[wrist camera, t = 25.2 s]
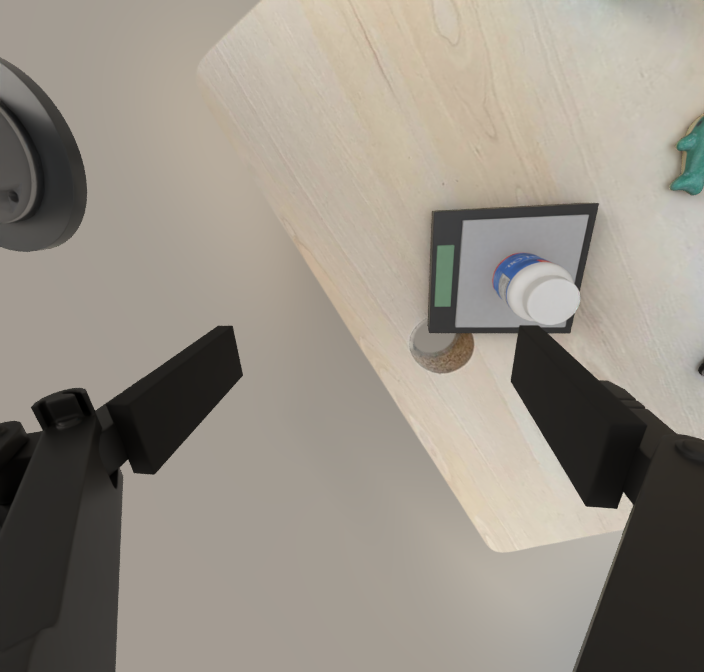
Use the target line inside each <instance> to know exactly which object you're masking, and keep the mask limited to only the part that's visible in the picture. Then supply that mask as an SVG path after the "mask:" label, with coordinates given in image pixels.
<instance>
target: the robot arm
mask: <svg viewBox="0 0 704 672" xmlns="http://www.w3.org/2000/svg"><path fill="white" fill-rule="evenodd" d="M43 195H44V173H43V167H42V164H41V160H40V157H39V154H38V152H37V149H36V147H35V145H34V143H33V141H32V139H31V137H30V135H29V133H28V132H27V130H26V129H25V127H24V126H23V124H22V123H21V122H20V120H19V119H18V118H17V117H16V116H15V114H14V113H13V112H12V111H11V110H10V109H9V108H8V107H7V106H6V105H5V104H3V103H2V102H1V101H0V223H14V222H21V221H24V220H26V219H28V218H30V217H31V216H32V215H34V214H35V212H36V211H37V210H38V208H39V207H40V205H41V202H42V199H43ZM242 376H243V373H242V368H241V364H240V359H239V354H238V349H237V345H236V340H235V335H234V331H233V326H217V327H216V328H214V329H213V330H211V331H210V332H208V333H207V334H206V335H204V336H203V337H201V338H200V339H198V340H197V341H196V342H194V343H193V344H191V345H190V346H188V347H187V348H186V349H184V350H183V351H181V352H180V353H178V354H177V355H176V356H174V357H173V358H171V359H170V360H168V361H167V362H165V363H164V364H163V365H161V366H160V367H158V368H157V369H156V370H154V371H153V372H151V373H150V374H148V375H147V376H145V377H144V378H142V379H140V380H139V381H137V382H136V383H135V384H133V385H132V386H131V387H129V388H127V389H126V390H124V391H123V392H122V393H120V394H119V395H117V396H116V397H114V398H113V399H112V400H110V401H109V402H107V403H106V404H104V405H103V406H101V407H100V408H99V409H97V410H96V411H95V410H94V407H93V405H92V403H91V401H90V398H89V396H88V394H87V391H86V390H85V389H83V388H72V389H67V390H63V391H59V392H57V393H53V394H51V395H49V396H46V397H44V398H42V399H41V400H39V401H37V402H36V403H35V404H34V405H33V406H32V407H31V408H32V410H33V412H34V414H35V416H36V418H37V420H38V422H39V424H40V425H41V427H42V429H43V431H40V432H34V433H28V434H27V433H26V432H25V430H24V428H23V426H22V424H21V423H20V422H17V421H10V422H4V423H0V672H115V666H116V665H115V664H116V640H117V615H118V591H119V566H120V539H121V516H122V491H123V475H122V472H121V470H120V468H119V467H120V466H122V465H123V464H124V463H125V462H126V461H127V460H129V462H130V465H131V467H132V470H133V472H134V473H140V474H155V473H156V472H157V471H158V470H159V469H160V468H161V466H162V465H163V464H164V463H165V462H166V461H167V460H168V459H169V458H170V457H171V455H172V454H173V453H174V452H175V451H176V450H177V449H178V447H179V446H180V445H181V444H182V443H183V442H184V441H185V440H186V439H187V437H188V436H189V435H190V434H191V433H192V432H193V431H194V430H195V429H196V427H197V426H198V425H199V424H200V423H201V422H202V420H204V418H205V417H206V416H207V415H208V414H209V413H210V412H211V411H212V409H213V408H214V407H215V406H216V405H217V404H218V403H219V401H220V400H221V399H222V398H223V397H224V396H225V395H226V394H227V393H228V392H229V390H230V389H231V388H232V387H233V386H234V385H235V384H236V382H237V381H238V380H239V379H240V378H241V377H242ZM511 383H512V384H513V386H514V388H515V389H516V391H517V393H518V394H519V396H520V398H521V399H522V401H523V403H524V404H525V406H526V408H527V409H528V411H529V413H530V414H531V416H532V417H533V419H534V421H535V422H536V424H537V426H538V427H539V429H540V431H541V432H542V434H543V436H544V437H545V439H546V441H547V442H548V444H549V446H550V447H551V449H552V451H553V452H554V454H555V456H556V457H557V459H558V461H559V462H560V464H561V466H562V467H563V469H564V471H565V472H566V474H567V476H568V477H569V479H570V481H571V482H572V484H573V486H574V487H575V489H576V491H577V492H578V494H579V496H580V497H581V499H582V501H583V502H584V504H585V506H587V507H601V508H614V509H617V508H618V505H619V502H620V499H621V497H622V494H623V492H624V493H625V494H626V496H627V497H628V498H629V500H630V501H631V502H632V504H633V508H632V510H631V513H630V515H629V518H628V521H627V523H626V526H625V528H624V531H623V534H622V537H621V540H620V543H619V546H618V548H617V551H616V554H615V557H614V559H613V562H612V565H611V568H610V570H609V573H608V576H607V579H606V581H605V584H604V587H603V589H602V592H601V595H600V598H599V600H598V603H597V606H596V609H595V611H594V614H593V617H592V620H591V622H590V625H589V628H588V631H587V633H586V636H585V639H584V641H583V644H582V647H581V650H580V652H579V655H578V658H577V661H576V664H575V666H574V669H573V672H704V440H702V439H699V438H695V437H691V436H688V435H681V434H676V433H675V432H674V431H673V430H672V429H670V428H669V427H668V426H667V425H666V424H664V423H663V422H662V421H661V420H660V419H659V418H657V417H656V416H655V415H654V414H653V413H652V412H650V411H649V410H648V409H645V406H643V405H642V404H641V403H640V402H639V401H636V399H635V398H634V397H633V396H632V395H630V394H629V393H628V392H627V391H626V390H625V389H623V388H621V387H619V386H617V385H615V384H613V383H611V382H609V381H599V380H598V379H596V378H595V377H594V376H593V375H592V374H591V373H590V372H589V371H588V370H587V369H586V368H584V367H583V366H582V365H581V364H580V363H579V362H578V361H577V360H576V359H575V358H574V357H573V356H571V355H570V354H569V353H568V352H567V351H566V350H565V349H564V348H563V347H562V346H561V345H559V344H558V343H557V342H556V341H555V340H554V339H553V338H552V337H551V336H550V335H549V334H548V333H546V332H545V331H544V330H543V329H542V328H541V327H540V326H539V325H519V331H518V337H517V344H516V350H515V356H514V363H513V369H512V376H511Z"/></svg>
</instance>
